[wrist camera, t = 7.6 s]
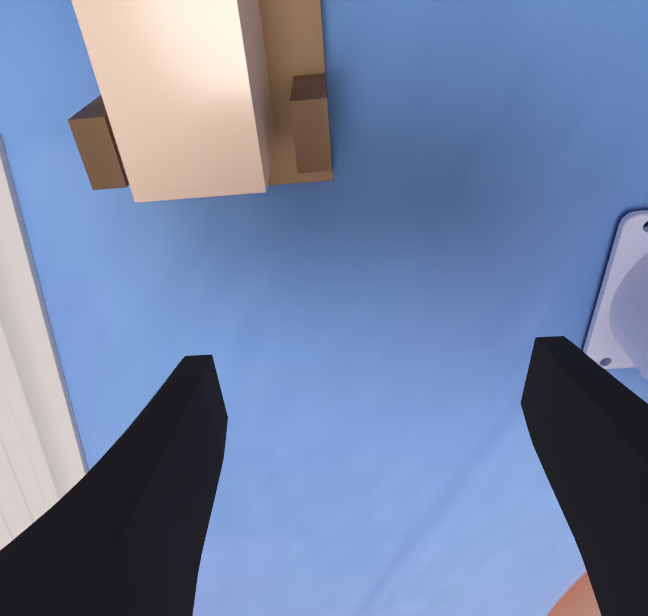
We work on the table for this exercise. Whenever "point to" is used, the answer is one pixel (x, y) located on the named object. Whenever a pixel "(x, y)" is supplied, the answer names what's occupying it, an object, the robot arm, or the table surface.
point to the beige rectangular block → (184, 93)
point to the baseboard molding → (29, 385)
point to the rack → (286, 94)
